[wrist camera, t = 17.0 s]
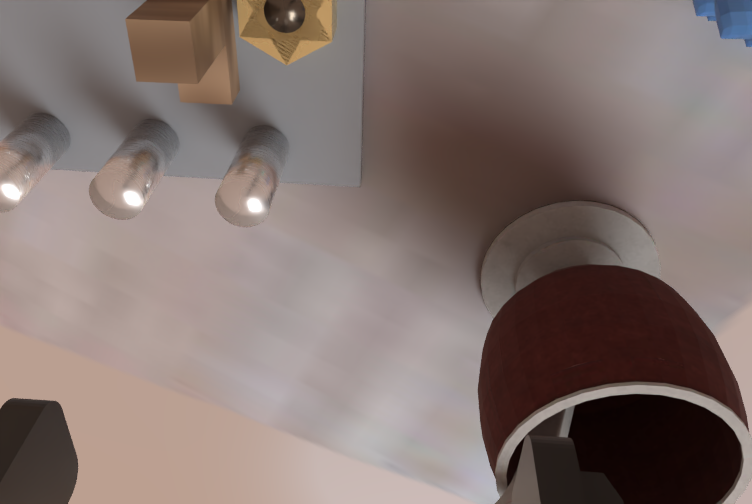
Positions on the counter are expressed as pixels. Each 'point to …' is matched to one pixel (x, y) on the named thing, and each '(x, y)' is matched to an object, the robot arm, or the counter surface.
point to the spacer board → (161, 100)
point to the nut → (287, 26)
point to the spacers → (143, 168)
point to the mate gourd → (605, 362)
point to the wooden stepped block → (186, 48)
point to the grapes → (728, 17)
